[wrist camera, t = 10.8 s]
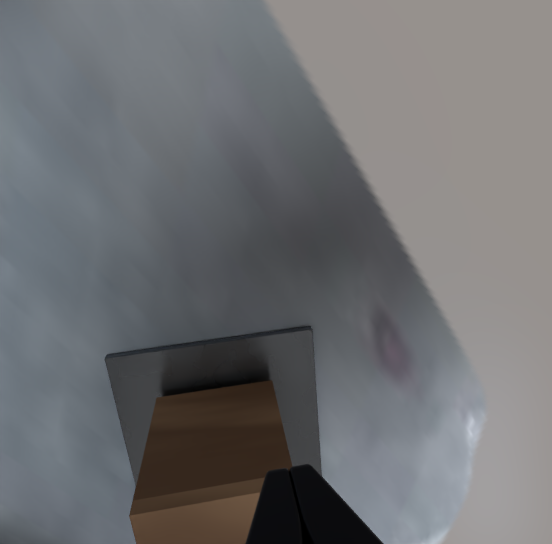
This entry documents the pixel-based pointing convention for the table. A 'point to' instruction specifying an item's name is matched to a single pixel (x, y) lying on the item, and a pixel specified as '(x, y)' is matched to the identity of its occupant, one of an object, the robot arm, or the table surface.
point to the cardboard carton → (207, 465)
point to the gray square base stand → (221, 383)
